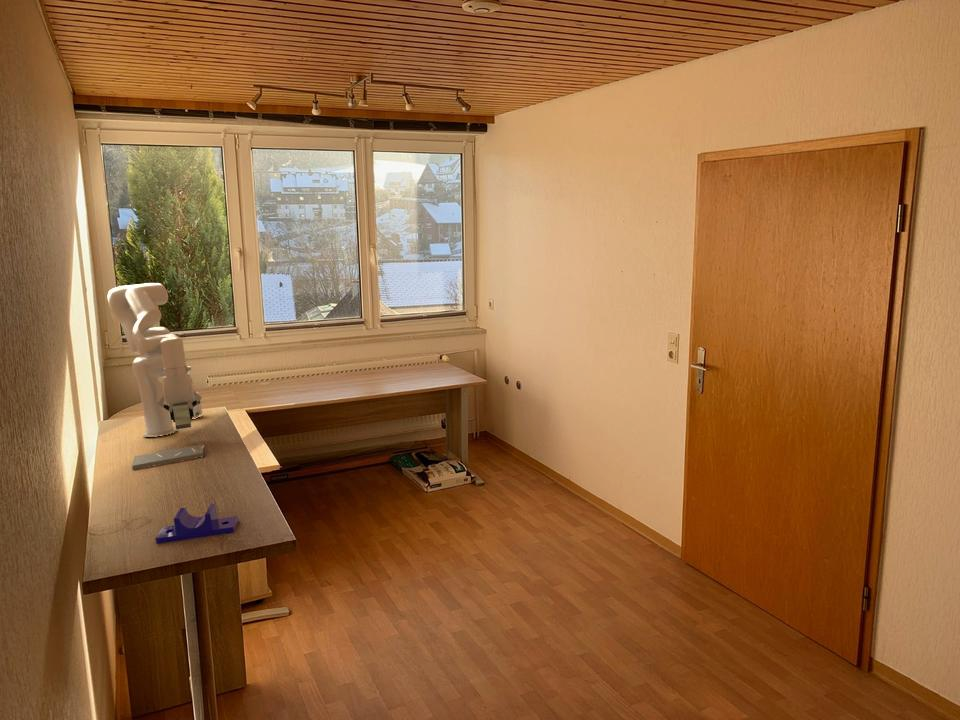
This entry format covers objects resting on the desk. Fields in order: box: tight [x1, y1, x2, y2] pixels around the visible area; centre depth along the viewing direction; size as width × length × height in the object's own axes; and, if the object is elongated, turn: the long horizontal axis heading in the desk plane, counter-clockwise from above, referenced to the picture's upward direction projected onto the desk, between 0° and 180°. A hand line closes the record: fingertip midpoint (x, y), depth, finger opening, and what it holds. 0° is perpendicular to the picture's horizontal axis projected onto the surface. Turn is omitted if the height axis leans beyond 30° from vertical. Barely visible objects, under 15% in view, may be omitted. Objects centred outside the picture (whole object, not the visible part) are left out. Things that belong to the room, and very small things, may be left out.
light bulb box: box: [191, 391, 203, 418], centre depth 300 cm, size 11×7×11 cm, turn 84°
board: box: [131, 444, 205, 471], centre depth 243 cm, size 12×23×2 cm, turn 112°
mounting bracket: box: [155, 502, 239, 545], centre depth 176 cm, size 18×7×6 cm, turn 101°
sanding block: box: [173, 402, 192, 430], centre depth 258 cm, size 9×5×8 cm, turn 22°
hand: (182, 419), depth 258 cm, fingers closed on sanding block, 5 cm apart
